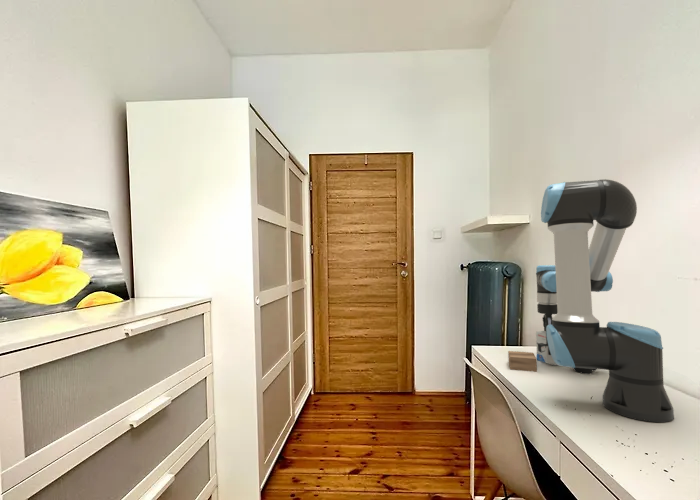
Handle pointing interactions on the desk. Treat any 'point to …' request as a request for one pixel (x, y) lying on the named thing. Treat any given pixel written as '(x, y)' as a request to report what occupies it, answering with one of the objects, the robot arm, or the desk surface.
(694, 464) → the desk surface
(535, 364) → the base block
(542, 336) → the ink box
